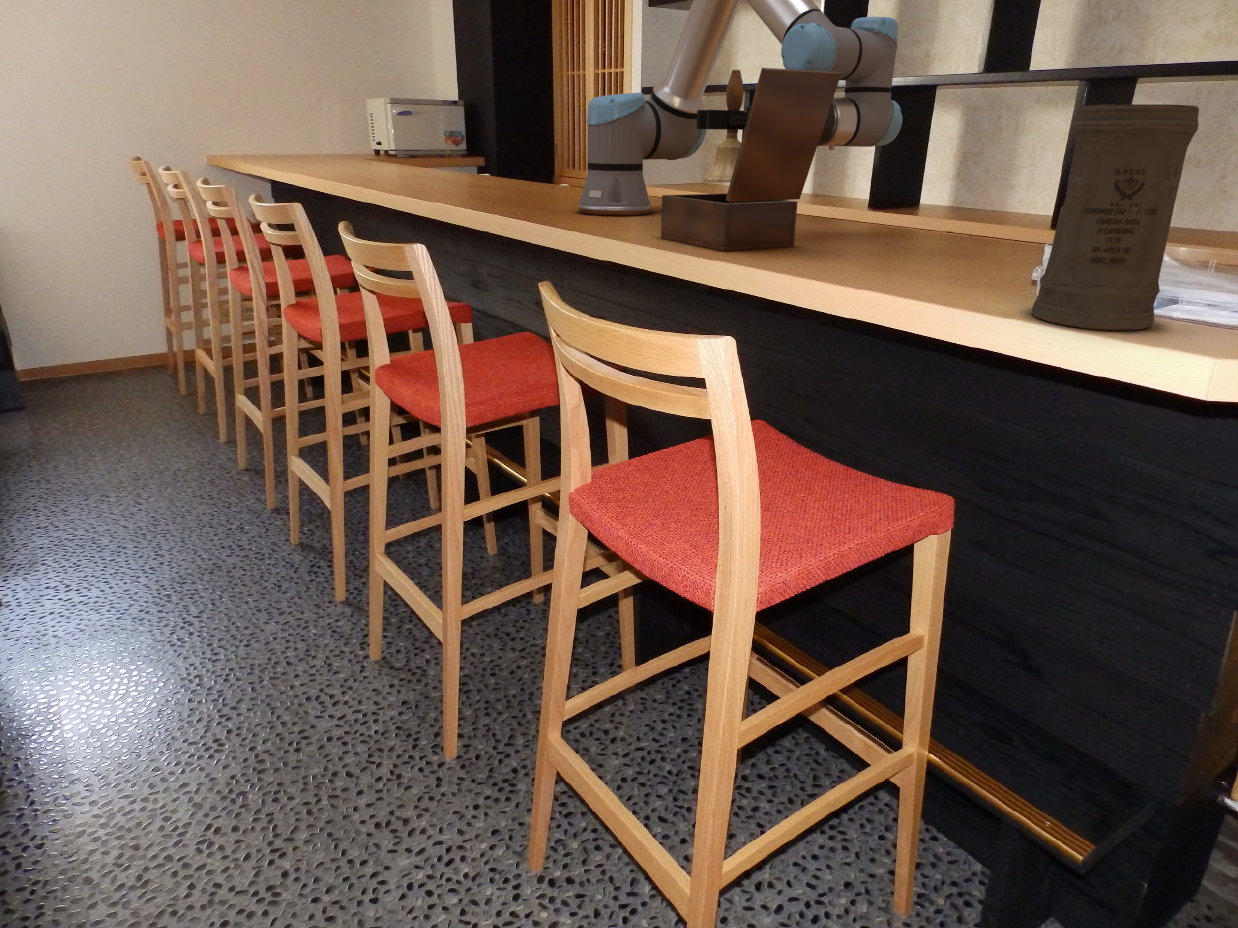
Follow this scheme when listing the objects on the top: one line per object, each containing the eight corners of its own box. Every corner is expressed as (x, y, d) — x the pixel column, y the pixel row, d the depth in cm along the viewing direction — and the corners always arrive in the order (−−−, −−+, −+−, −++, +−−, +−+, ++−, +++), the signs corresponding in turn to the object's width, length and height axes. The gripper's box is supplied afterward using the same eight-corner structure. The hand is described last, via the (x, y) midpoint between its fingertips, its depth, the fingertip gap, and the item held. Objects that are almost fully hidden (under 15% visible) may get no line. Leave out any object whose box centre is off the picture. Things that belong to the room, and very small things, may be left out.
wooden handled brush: (701, 180, 136) (706, 71, 130) (753, 180, 136) (759, 72, 130) (705, 182, 128) (710, 67, 123) (759, 183, 128) (767, 68, 122)
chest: (660, 238, 140) (662, 195, 137) (726, 234, 146) (729, 193, 143) (723, 251, 125) (726, 204, 123) (793, 246, 132) (797, 201, 129)
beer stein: (1174, 335, 77) (1230, 99, 71) (1048, 328, 79) (1092, 97, 73) (1115, 314, 91) (1157, 115, 85) (1010, 308, 93) (1043, 114, 87)
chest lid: (761, 67, 112) (765, 69, 111) (838, 72, 118) (841, 74, 117) (725, 199, 123) (728, 202, 123) (796, 197, 129) (799, 199, 129)
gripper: (850, 147, 133) (731, 147, 122) (789, 145, 145) (674, 145, 134) (856, 96, 130) (734, 91, 119) (793, 98, 142) (676, 93, 131)
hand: (703, 119), depth 126 cm, fingers closed on wooden handled brush, 2 cm apart
